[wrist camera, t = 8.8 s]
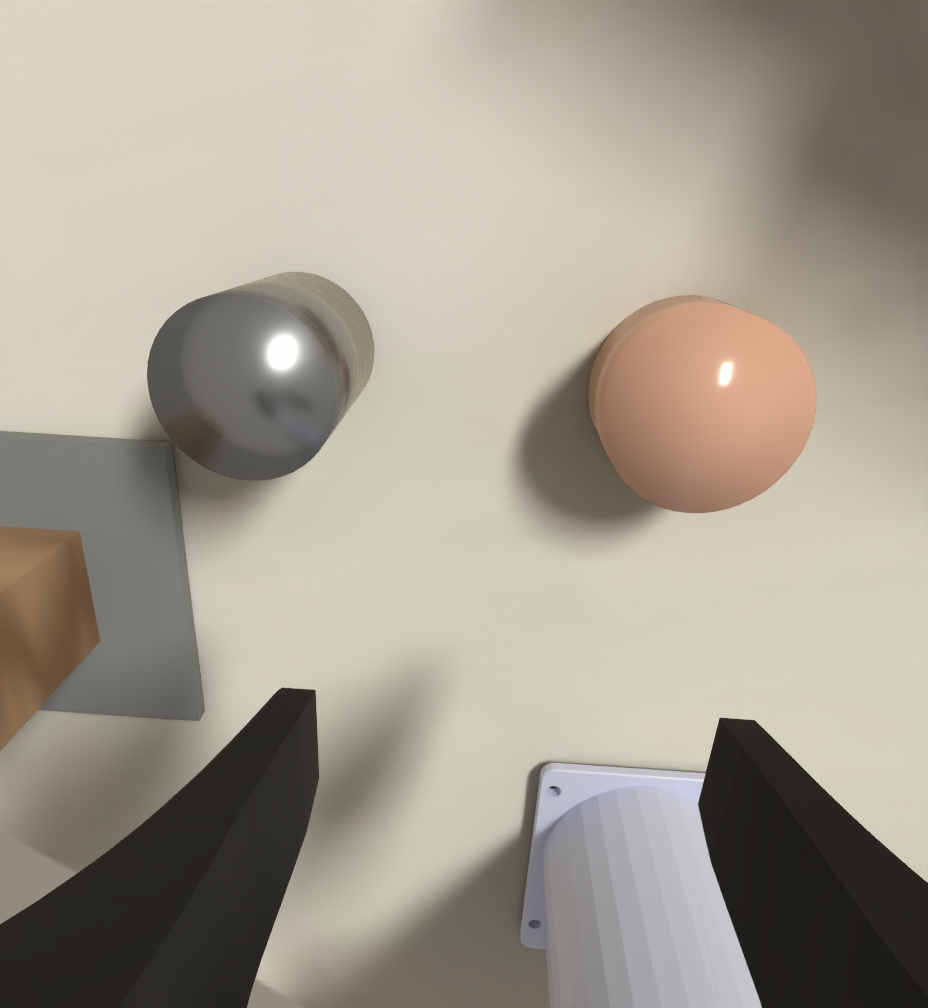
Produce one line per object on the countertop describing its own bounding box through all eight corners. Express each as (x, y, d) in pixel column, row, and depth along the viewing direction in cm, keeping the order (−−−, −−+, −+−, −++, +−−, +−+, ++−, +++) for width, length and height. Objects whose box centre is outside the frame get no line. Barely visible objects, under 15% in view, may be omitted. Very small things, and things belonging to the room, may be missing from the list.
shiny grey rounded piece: (374, 421, 20) (338, 485, 15) (237, 412, 20) (159, 474, 15) (374, 276, 18) (334, 299, 14) (225, 267, 18) (134, 288, 14)
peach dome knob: (747, 477, 20) (787, 519, 17) (576, 465, 20) (590, 505, 17) (788, 301, 18) (842, 317, 15) (600, 289, 18) (619, 303, 15)
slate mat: (204, 711, 24) (199, 721, 24) (-74, 691, 24) (-85, 701, 24) (171, 441, 20) (164, 447, 20) (-162, 421, 20) (-176, 425, 20)
